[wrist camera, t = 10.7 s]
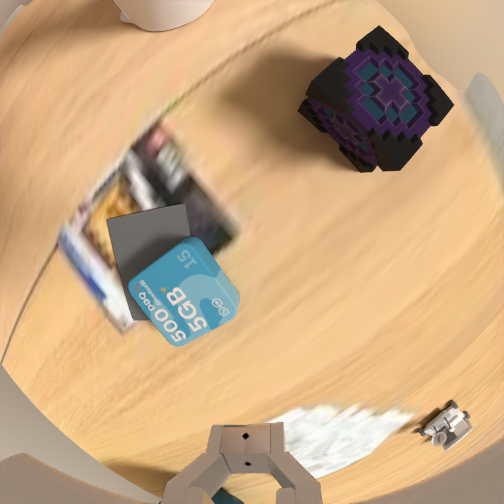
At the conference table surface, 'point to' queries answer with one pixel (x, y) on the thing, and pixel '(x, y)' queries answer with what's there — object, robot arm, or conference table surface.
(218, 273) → the light blue flat block
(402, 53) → the energy cube
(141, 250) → the mat
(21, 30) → the conference table surface
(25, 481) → the robot arm
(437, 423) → the toy car
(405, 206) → the conference table surface
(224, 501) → the globe
